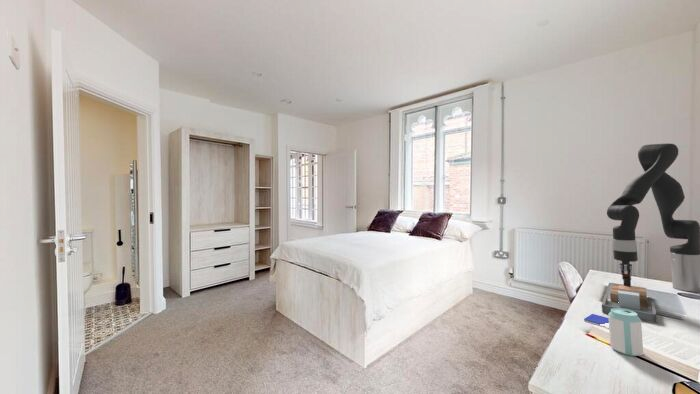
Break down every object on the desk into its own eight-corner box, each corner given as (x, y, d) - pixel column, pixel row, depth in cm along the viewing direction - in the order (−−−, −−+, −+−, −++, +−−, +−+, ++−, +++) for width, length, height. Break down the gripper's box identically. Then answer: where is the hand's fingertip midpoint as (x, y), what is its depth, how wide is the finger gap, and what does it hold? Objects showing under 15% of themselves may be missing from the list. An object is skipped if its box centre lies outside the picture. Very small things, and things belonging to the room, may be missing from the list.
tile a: (619, 290, 121) (618, 285, 121) (638, 293, 116) (638, 287, 117) (619, 294, 116) (619, 288, 116) (639, 297, 112) (639, 291, 112)
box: (605, 301, 119) (604, 294, 120) (654, 309, 109) (654, 302, 109) (602, 312, 109) (601, 305, 109) (656, 323, 98) (656, 314, 98)
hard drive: (637, 324, 96) (592, 313, 106) (629, 331, 92) (583, 318, 102) (637, 329, 96) (593, 317, 106) (629, 335, 92) (584, 322, 102)
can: (609, 342, 87) (606, 305, 87) (640, 349, 83) (638, 310, 83) (611, 352, 82) (609, 313, 82) (645, 360, 77) (642, 318, 77)
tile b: (618, 290, 114) (618, 292, 112) (638, 293, 109) (639, 296, 108) (618, 303, 114) (619, 306, 112) (639, 306, 110) (640, 309, 108)
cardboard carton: (613, 291, 131) (612, 283, 131) (646, 296, 123) (646, 287, 123) (610, 302, 118) (610, 293, 118) (647, 308, 110) (647, 298, 110)
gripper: (637, 252, 113) (639, 294, 113) (637, 248, 122) (639, 286, 122) (612, 251, 118) (614, 290, 118) (614, 246, 127) (616, 283, 127)
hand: (627, 288), depth 120 cm, fingers closed
